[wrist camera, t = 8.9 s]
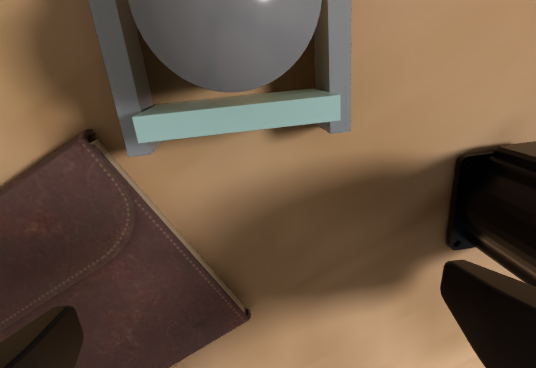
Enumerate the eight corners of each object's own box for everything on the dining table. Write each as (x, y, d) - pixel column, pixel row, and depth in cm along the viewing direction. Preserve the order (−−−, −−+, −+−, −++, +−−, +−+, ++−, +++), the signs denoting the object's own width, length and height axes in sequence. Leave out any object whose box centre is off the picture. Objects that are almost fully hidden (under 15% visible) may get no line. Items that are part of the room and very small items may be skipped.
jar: (290, 78, 16) (324, 83, 11) (178, 89, 16) (149, 100, 10) (282, -55, 14) (319, -140, 9) (153, -47, 14) (99, -131, 8)
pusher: (312, 107, 17) (340, 120, 13) (161, 124, 16) (138, 143, 12) (311, 88, 16) (340, 94, 12) (157, 104, 16) (131, 116, 12)
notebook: (250, 305, 22) (252, 327, 20) (32, 435, 24) (15, 467, 22) (94, 125, 17) (77, 133, 15) (-172, 311, 18) (-217, 339, 17)
